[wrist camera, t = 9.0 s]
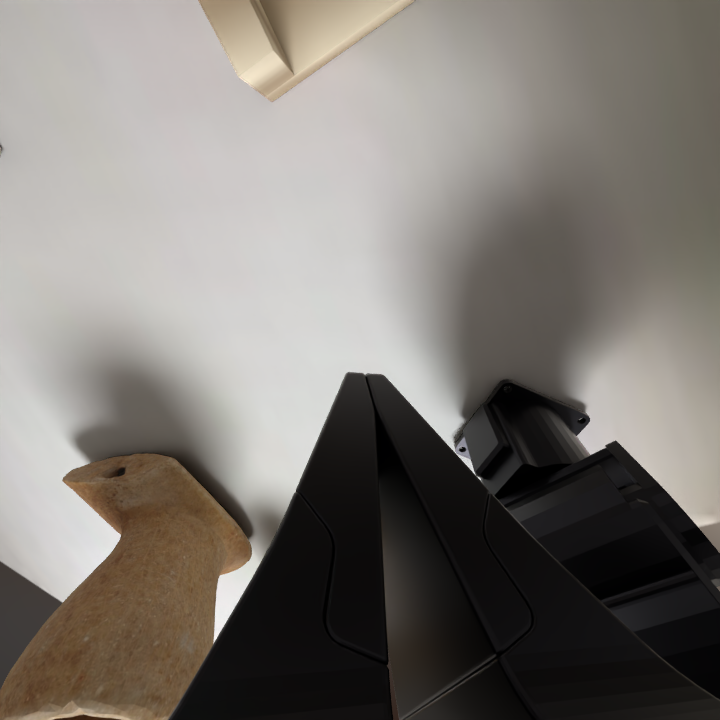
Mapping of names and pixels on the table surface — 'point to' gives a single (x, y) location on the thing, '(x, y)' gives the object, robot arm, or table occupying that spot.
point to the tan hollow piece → (132, 600)
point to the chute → (291, 35)
